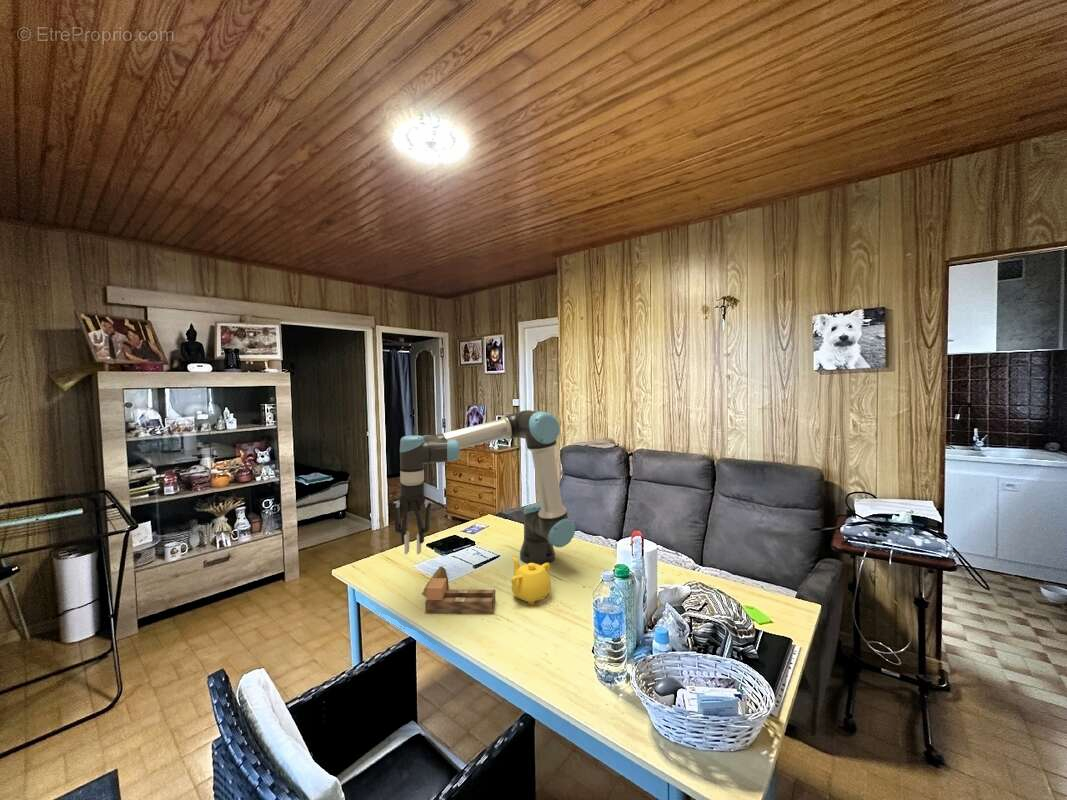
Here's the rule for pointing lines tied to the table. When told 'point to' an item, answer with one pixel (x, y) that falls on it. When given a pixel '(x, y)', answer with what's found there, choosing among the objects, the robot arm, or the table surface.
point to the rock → (438, 574)
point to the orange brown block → (436, 589)
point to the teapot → (530, 581)
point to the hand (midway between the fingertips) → (413, 552)
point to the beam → (463, 602)
